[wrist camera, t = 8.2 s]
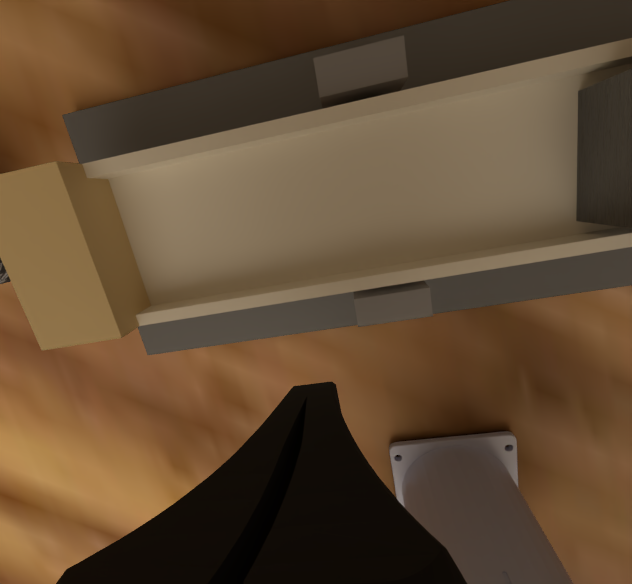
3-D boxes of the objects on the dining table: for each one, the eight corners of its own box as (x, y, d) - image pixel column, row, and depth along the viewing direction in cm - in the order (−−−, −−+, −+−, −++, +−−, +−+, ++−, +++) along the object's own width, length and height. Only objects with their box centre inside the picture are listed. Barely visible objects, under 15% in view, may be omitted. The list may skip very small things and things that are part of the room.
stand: (661, 273, 19) (817, 315, 12) (156, 348, 22) (85, 407, 16) (688, -36, 15) (931, -196, 9) (76, 118, 19) (-54, 84, 13)
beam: (719, 217, 14) (868, 228, 10) (112, 318, 18) (44, 355, 14) (744, 24, 12) (938, -56, 8) (59, 178, 16) (-37, 174, 12)
